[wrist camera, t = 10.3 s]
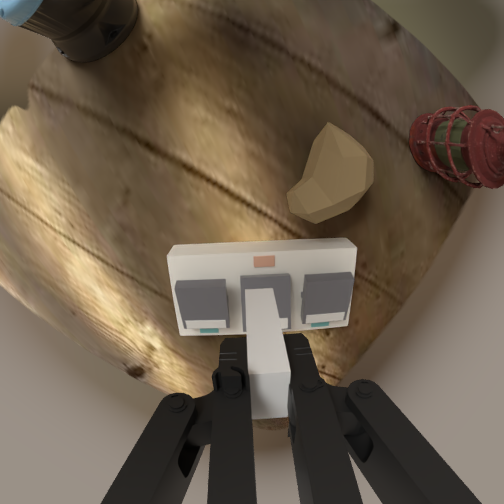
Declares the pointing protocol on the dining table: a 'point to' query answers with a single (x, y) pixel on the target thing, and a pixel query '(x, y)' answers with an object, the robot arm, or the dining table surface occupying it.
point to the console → (260, 272)
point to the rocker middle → (281, 293)
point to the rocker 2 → (326, 297)
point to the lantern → (461, 145)
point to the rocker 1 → (203, 303)
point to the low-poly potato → (331, 177)
